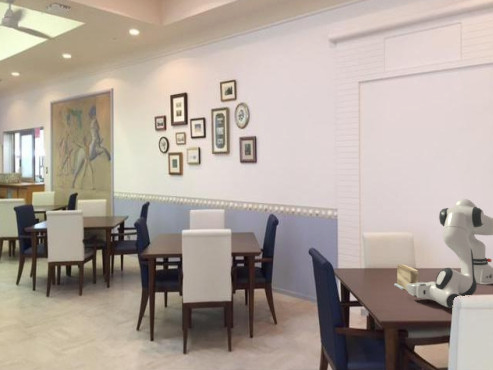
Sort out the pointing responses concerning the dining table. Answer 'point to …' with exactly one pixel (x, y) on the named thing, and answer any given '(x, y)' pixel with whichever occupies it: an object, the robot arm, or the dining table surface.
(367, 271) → the dining table surface
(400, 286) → the track
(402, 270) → the board
